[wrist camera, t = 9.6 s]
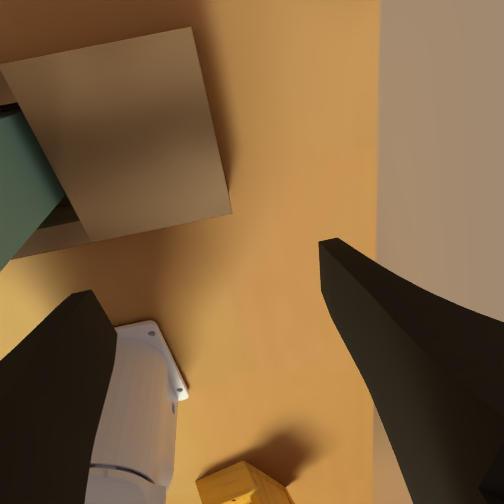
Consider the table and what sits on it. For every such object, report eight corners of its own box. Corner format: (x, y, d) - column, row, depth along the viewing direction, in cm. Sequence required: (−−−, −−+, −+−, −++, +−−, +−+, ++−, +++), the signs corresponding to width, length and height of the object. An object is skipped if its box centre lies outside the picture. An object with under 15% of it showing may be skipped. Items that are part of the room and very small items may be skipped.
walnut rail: (228, 194, 19) (232, 213, 17) (-118, 265, 18) (-158, 294, 16) (192, 27, 14) (190, 26, 12) (-268, 118, 14) (-350, 132, 12)
